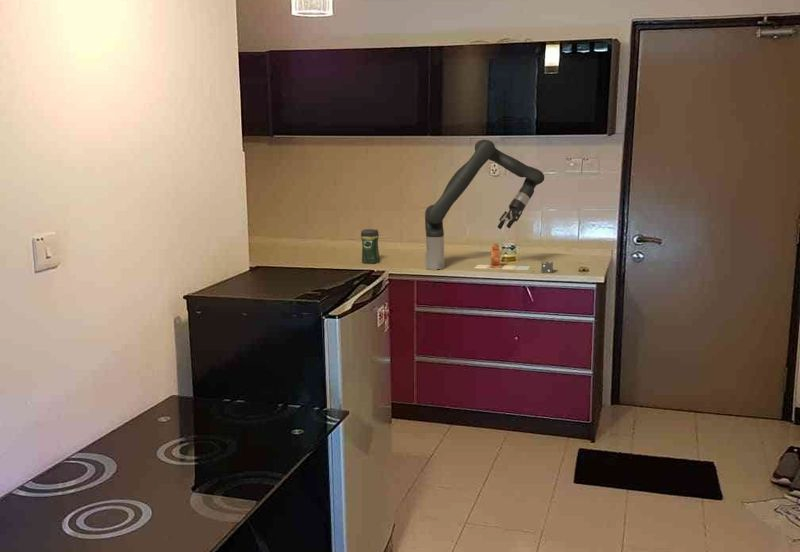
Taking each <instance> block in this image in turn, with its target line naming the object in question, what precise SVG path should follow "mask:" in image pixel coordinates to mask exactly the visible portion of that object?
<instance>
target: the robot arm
mask: <svg viewBox="0 0 800 552" xmlns="http://www.w3.org/2000/svg"><path fill="white" fill-rule="evenodd" d="M488 161H491V162H494V163H495V164H497V165H499V166H501V167H502V168H504V169H505V170H506V171H508V172H510V173H511V174H513V175H515V176H517V177H519V178H524V180H523V184H522V186H521V187H520V189H519V190H518V192H517V193H516V194H515V195H514V197H513V199H511V202H510V204H509V205H508V209H509V210H508V211H504V212H503V214H502V215H501V216H500V218H499V219H498V221H500V222H499V223H498V225H497V228H498V229H499V230H501V229H502V228H503V227H504V226H506V228H507V229H510V228H512V226H513V225H514V223H516V222H518V221H519V219H520V217H521V216H522V214H523V211H524V210H525V209H526V207H527V206H528V204H529V201H530V200H531V198H532V197H533V196H534V194H535V189H536V187H537V186H538V185H540V184H542V183H543V182H544V181H545V174H544V172H542V171H541V170H540V169H537V168H535V167H533V166H529V165H526V164H525V163H523V162H522V161H520V160H518V159H516V158H515V157H512V156H510V155H508V154H507V153H504V152H502V151H501V150H499V149H497V148H496V146H495V143H494V142H493V141H491V140H489V139H479V140H478V141H476V143H475V144H474V153H473V155H472V156H471V157H470V158H469V159H468V160H467V162H465V163H464V164H463V165H462V166H461V167H460V168H459V169H458V170H456V172H455V173H454V174H453V176H452V177H451V178H450V180H449V181H448V182H447V185H446V186H445V188H444V190H443V193H442V194H441V196H440V197H439V198H438V199H437V201H436V202H435V203H434V204H431V205H429V206H428V207H427V208H426V209H425V212H424V220H425V221H424V227H425V228H424V229H425V238H426V239H425V241H426V244H425V245H426V246H425V247H426V250H425V254H424V255H425V257H424V258H425V270H430V271H431V270H432V271H437V269H440V270H443V269H445V233H444V232H445V231H444V223H443V220H444V219H445V217H446V216H447V214H448V212H449V210H450V209H451V208H452V206H453V205H454V204H455V203H456V201H457V200H458V199H459V198H460V197H461V196H462V194H463V193H464V192H465V190H466V189H467V188H468V186H470V184H471V183H472V181H473V180H474V178H475V177H476V176H477V174H478V173H479V171H480V170H481V168H482V167H484V165H485V164H486V163H487V162H488ZM506 222H507V224H506ZM505 224H506V225H505Z"/></svg>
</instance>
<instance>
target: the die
mask: <svg viewBox="0 0 800 552" xmlns="http://www.w3.org/2000/svg"><path fill="white" fill-rule="evenodd" d="M553 270H554V261H542V262H541V274H552V273H553V272H554V271H553Z"/></svg>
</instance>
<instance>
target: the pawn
mask: <svg viewBox="0 0 800 552" xmlns="http://www.w3.org/2000/svg"><path fill="white" fill-rule="evenodd" d="M490 250H491V251H490V253H491V255H490V258H491V259H490V261H491V263H490V264H489V265H490V266H489V267H490V268H501V265H502V264H501V263H500V262H501V249H500V246H499V244H497V243H493V244H492V245H491V249H490ZM501 269H502V268H501Z"/></svg>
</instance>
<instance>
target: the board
mask: <svg viewBox="0 0 800 552" xmlns="http://www.w3.org/2000/svg"><path fill="white" fill-rule="evenodd" d="M490 265H491V264H477V265H476V266H475V267H474V269H485V270H486V269H488V270H489V269H490V270H512V271H513V270H516V271H517V270H518V271H529V269H530V267H531V266H528V265H502V264H501V268H490Z"/></svg>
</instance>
